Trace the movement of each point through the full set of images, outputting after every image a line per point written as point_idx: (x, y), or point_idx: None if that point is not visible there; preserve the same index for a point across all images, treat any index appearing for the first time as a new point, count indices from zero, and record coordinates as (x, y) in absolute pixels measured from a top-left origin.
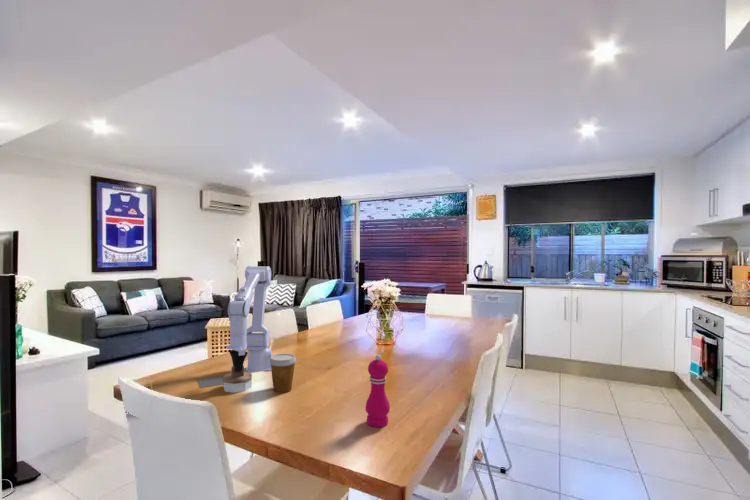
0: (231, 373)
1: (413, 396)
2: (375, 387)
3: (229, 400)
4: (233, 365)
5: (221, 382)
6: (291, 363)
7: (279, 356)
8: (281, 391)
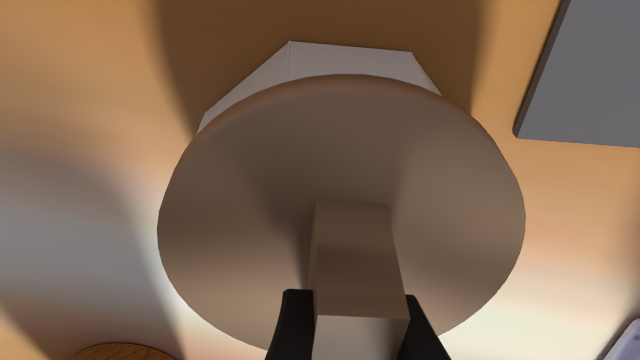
0: (378, 231)
1: None
2: None
3: (16, 22)
4: (406, 351)
5: (616, 80)
6: None
7: None
8: None
